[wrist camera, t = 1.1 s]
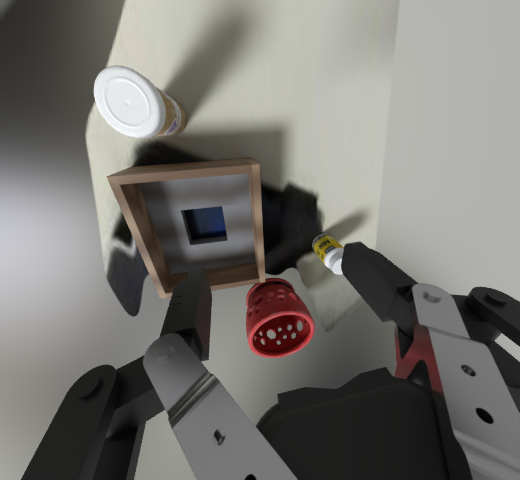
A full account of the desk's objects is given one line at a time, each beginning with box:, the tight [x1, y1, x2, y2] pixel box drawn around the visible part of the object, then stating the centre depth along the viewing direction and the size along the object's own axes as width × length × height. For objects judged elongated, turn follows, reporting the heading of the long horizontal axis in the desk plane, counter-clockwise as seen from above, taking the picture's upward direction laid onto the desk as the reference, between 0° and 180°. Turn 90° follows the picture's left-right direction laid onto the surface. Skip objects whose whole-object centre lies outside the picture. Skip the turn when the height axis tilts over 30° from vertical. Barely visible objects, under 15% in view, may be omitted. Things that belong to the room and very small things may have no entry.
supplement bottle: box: [312, 234, 344, 275], centre depth 38 cm, size 5×5×8 cm
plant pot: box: [246, 278, 315, 358], centre depth 41 cm, size 13×13×12 cm
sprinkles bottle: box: [94, 66, 186, 138], centre depth 20 cm, size 5×5×13 cm
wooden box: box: [107, 158, 265, 299], centre depth 31 cm, size 20×18×7 cm
